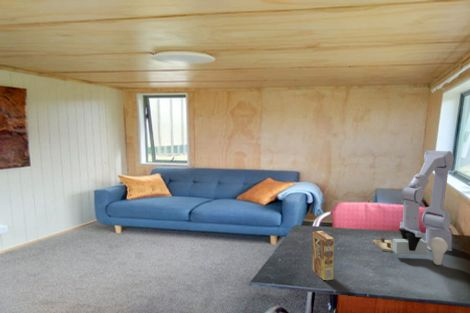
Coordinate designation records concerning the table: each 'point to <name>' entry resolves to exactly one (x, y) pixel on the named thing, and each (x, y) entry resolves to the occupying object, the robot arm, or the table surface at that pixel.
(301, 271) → the table surface
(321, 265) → the candy box
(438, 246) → the lightbulb
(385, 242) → the jig
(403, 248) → the light grey block
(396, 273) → the table surface
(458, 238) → the table surface
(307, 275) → the table surface
